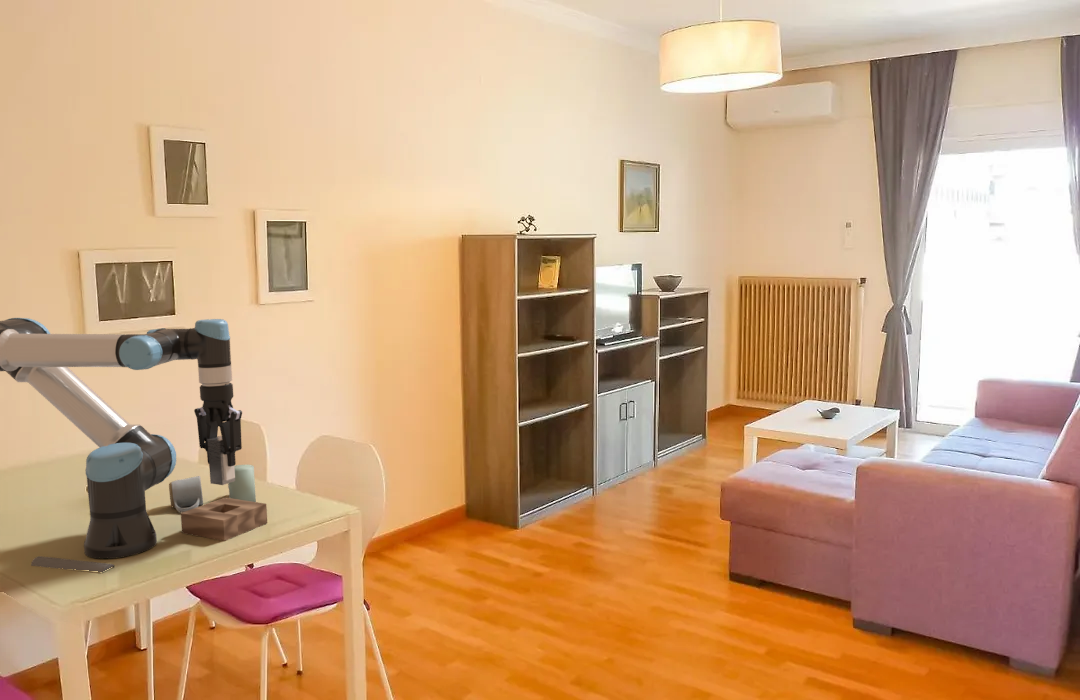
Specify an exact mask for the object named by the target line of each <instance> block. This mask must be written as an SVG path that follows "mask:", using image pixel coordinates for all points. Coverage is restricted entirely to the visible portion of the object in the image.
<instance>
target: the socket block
mask: <svg viewBox="0 0 1080 700" xmlns="http://www.w3.org/2000/svg"><path fill="white" fill-rule="evenodd" d="M267 508H268V507H267V503H262V502H257V501H256V502H251V501H245V500H238V499H232V498H230V497H222V498H219V499H217V500H213V501H211V502H208V503H205V504H203V505H198V507H196V508H194V509H191V510H188V511H185V512H180V522H181V534H185V535H190V536H196V537H203V538H208V539H212V540H218V541H223V542H226V541H228V540H230V539H233V538H235V537H238V536H240V535H242V534H245V533H248V532H249V531H251V530H254V529H257V528H260V527H262V526H264V525H267V524H268V513H267V511H268V509H267Z"/></svg>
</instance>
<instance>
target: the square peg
mask: <svg viewBox="0 0 1080 700" xmlns="http://www.w3.org/2000/svg"><path fill="white" fill-rule="evenodd" d="M207 441H208V455H209V464H208V465H209V466H208V467H209V468H210V469H209V477H210V478H209V479H210V484H212V485H217V486H218V485H219V486H225V485H228V483H231V482H234V481H235V478H233V479H230V480H224V466H223V452H225V449H224V444H223V440H222V435H219V436H218V435H217V437H214V438H210V439H207Z"/></svg>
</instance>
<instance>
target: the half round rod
mask: <svg viewBox="0 0 1080 700" xmlns="http://www.w3.org/2000/svg"><path fill="white" fill-rule="evenodd" d="M30 566H33V567H40V566H41V567H42V568H49V567H50V568H51V569H58V568H60V570H67V569H73V570H72V571H75V570H74V569H76V570H89V571H98V572H103V571H105V570H107V569H109V568H111V567H113V566H115V564H113V563H104V562H96V561H95V562H94V561H87V560H77V559H69V558H61V557H60V558H59V557H51V556H50V557H49V556H36V557H34V558H33V559H32V561H31V564H30ZM41 567H40V568H41ZM62 568H63V569H62ZM113 568H114V567H113ZM111 569H112V568H111ZM109 570H110V569H109ZM107 571H108V570H107ZM105 572H106V571H105ZM103 573H104V572H103Z"/></svg>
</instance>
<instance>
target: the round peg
mask: <svg viewBox="0 0 1080 700" xmlns="http://www.w3.org/2000/svg"><path fill="white" fill-rule="evenodd" d="M234 468H235V481H234V482H231V483H229V488H228V493H229V497H228V498H232V499H238V500H245V501H251V502H257V501H256V500H257V498H256V497H257V496H256V484H255V467H254V465H252V464H235V465H234Z"/></svg>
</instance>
